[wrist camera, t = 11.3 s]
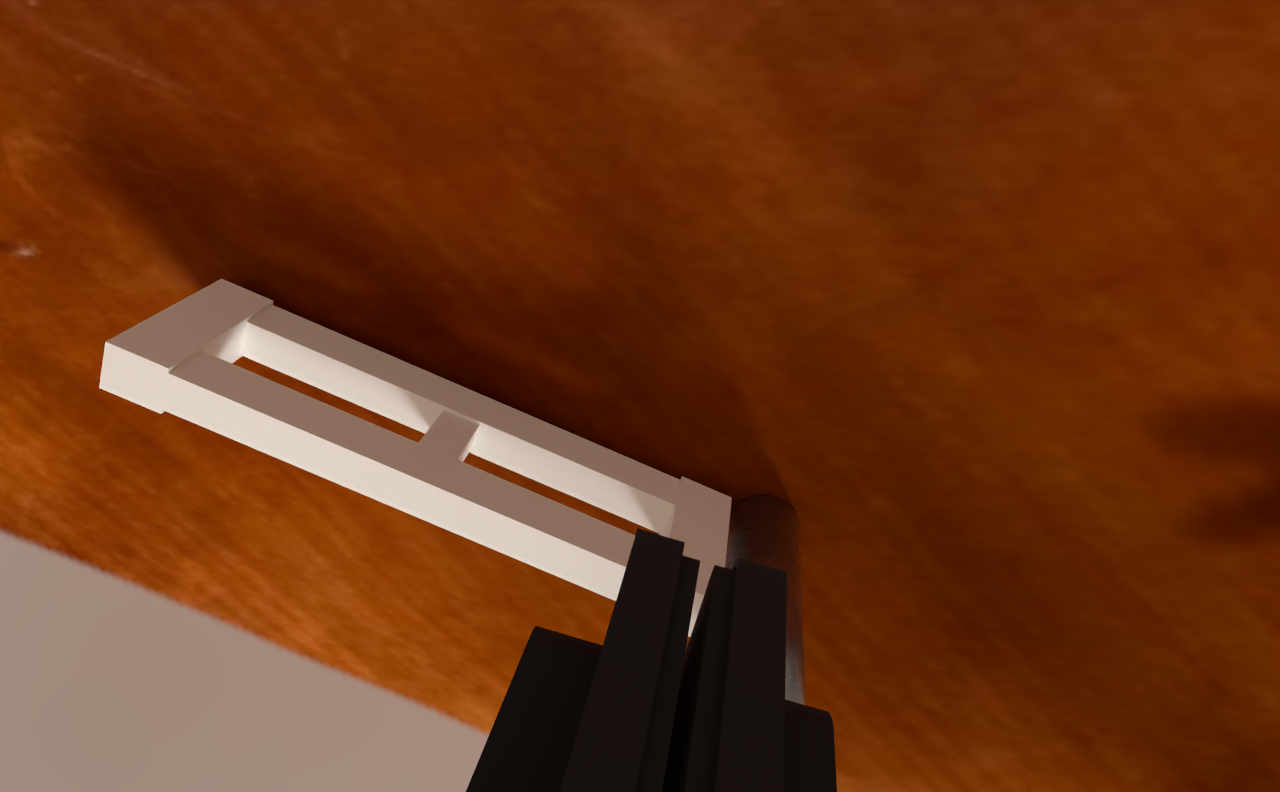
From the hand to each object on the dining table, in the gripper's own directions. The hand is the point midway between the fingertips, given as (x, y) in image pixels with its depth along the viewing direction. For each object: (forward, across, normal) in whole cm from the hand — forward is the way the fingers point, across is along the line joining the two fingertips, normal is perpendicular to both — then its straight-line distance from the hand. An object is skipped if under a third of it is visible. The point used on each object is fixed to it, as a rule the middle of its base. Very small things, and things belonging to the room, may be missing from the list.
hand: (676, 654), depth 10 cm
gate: (+18, +7, +8) cm, 21 cm away
